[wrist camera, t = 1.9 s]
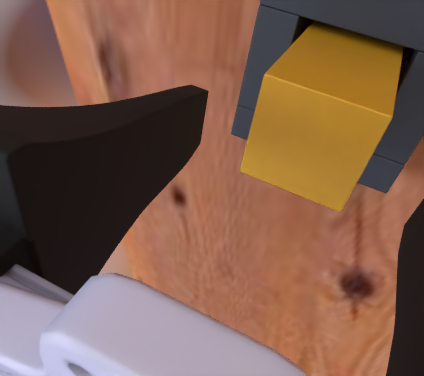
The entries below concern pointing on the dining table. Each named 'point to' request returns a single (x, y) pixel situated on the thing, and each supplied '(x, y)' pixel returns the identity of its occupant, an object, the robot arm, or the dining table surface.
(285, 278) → the dining table surface
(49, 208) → the robot arm
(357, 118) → the mustard peg
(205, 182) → the dining table surface
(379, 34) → the peg stand
